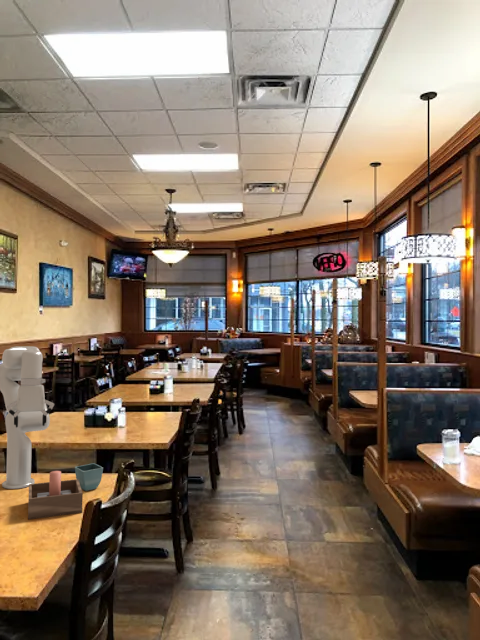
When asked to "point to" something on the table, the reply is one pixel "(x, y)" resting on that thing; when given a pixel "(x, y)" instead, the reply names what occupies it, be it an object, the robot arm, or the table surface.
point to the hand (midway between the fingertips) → (30, 426)
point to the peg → (55, 483)
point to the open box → (54, 500)
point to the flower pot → (89, 476)
